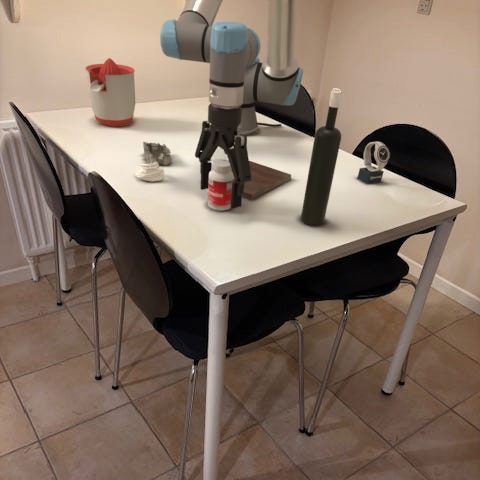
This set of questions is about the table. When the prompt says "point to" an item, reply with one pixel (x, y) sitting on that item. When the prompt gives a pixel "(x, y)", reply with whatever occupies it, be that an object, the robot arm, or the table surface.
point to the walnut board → (263, 180)
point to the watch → (370, 172)
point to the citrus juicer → (112, 93)
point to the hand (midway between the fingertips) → (220, 197)
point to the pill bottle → (220, 185)
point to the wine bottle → (322, 166)
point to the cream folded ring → (150, 172)
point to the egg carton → (156, 153)
